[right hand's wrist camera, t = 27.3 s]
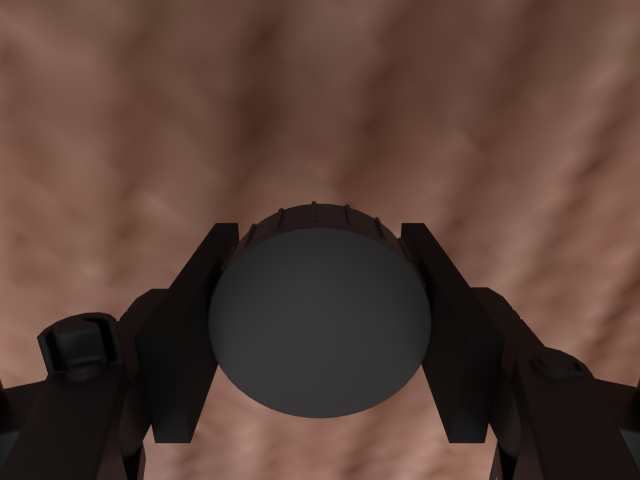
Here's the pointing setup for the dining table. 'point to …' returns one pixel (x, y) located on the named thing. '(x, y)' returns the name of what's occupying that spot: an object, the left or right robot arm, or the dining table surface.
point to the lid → (319, 312)
